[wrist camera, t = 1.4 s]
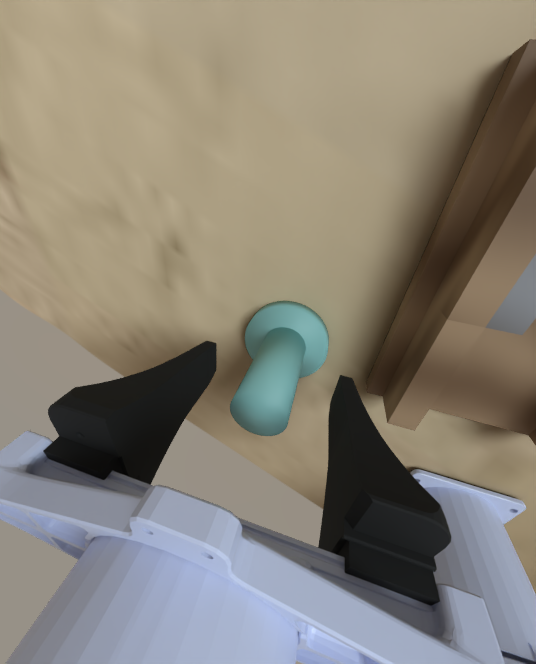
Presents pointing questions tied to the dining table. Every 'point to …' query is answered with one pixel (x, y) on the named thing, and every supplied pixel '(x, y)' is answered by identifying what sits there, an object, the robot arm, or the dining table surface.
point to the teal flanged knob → (278, 364)
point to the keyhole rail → (475, 282)
